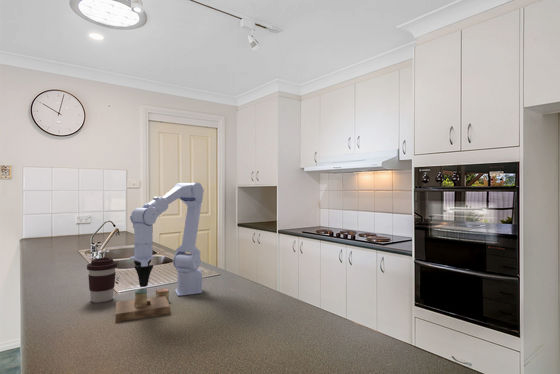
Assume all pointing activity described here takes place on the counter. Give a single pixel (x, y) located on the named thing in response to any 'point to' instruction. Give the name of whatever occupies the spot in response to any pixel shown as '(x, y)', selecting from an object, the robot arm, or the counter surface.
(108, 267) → the coffee cup
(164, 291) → the tan cubic piece
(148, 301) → the hole board
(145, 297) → the square peg
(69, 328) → the counter surface
